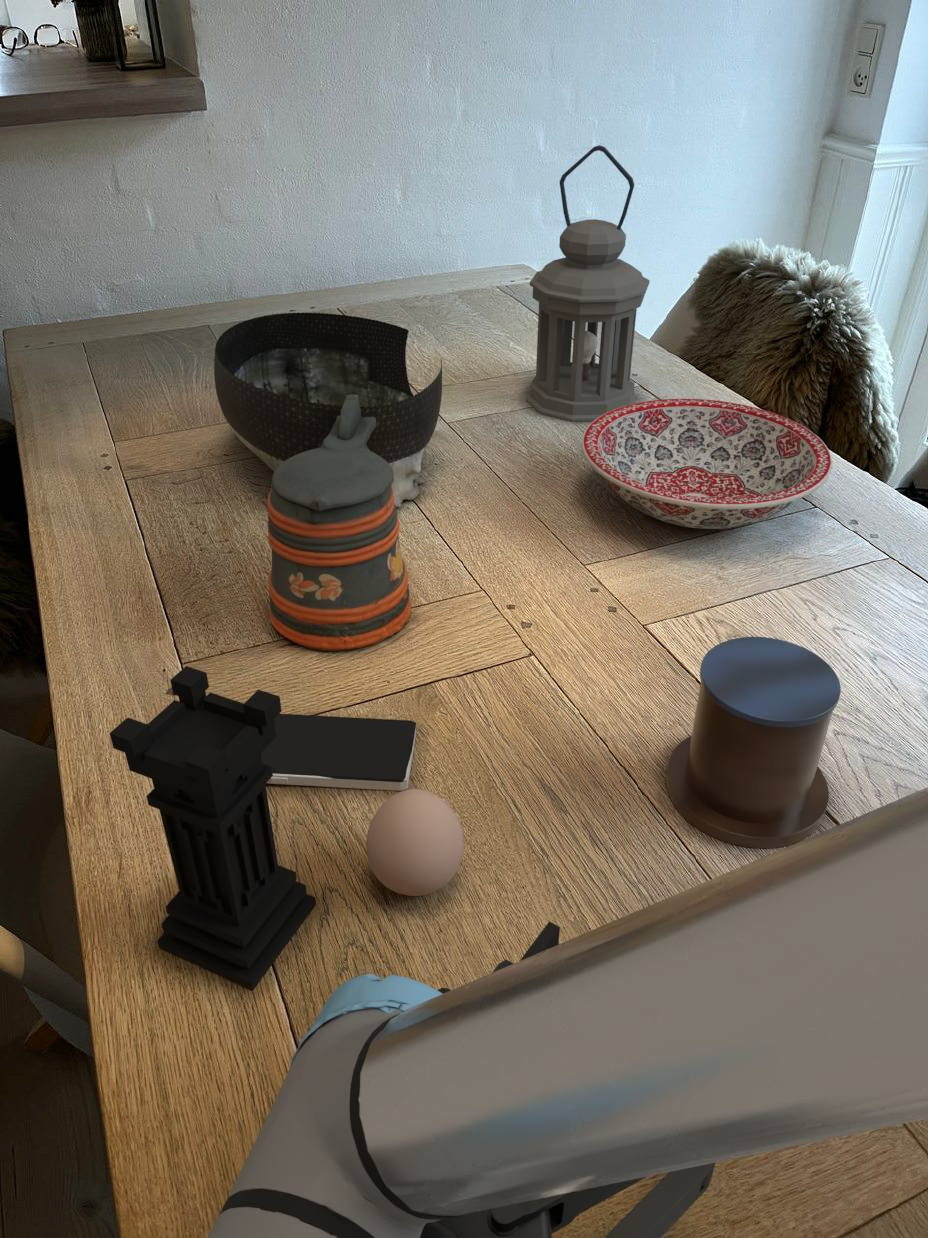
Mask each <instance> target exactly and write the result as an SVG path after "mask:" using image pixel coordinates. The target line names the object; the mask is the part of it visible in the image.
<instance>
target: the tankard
mask: <svg viewBox="0 0 928 1238" xmlns="http://www.w3.org/2000/svg"><path fill="white" fill-rule="evenodd" d="M375 428H376V418H375V417H363V418H362V417H361V412H360V405H359V398H358V396H357V395H354V394H353V395H347V396H346V398H345V401H344V404H343V406H342V410H341V415H340V416H337V419H336V422H335V424H334V426H333V428H332V430H331V432H330V433H329V435H328V436H327V437H326V438H325V439H324V440H323V443H322V446H321V447H320V448H317V449H312V450H309V451H305V452H302V453H300V454H297V455H295V456H293V457H291V458H289V459H287V460H286V461H284V462H283V463H282V464H281V465H279V466H278V467H277V469H276V470H275V472H274V471H273V474H272V479H271V486H270V491H269V492H268V496H267V540H268V541H267V542H268V544H269V546H270V548H271V570H270V572H269V576H268V598H269V619H270V622H271V624H272V626H273V628H274V629H275V630H276V631H277V632H278V633H280V634H281V635H282V636H283V637H285V638H286V639H288V640H290V641H291V642H293V643H295V644H296V645H298V646H301V647H305V648H307V649H311V650H319V651H324V652H338V651H339V652H340V651H346V650H347V651H348V650H355V649H361V648H365V647H369V646H373V645H376V644H378V643H380V642H382V641H383V640H386V638H388V637H392V636H393V635H394V634H395V633H398V632H400V631H401V630H402V628H403V627H404V625H405V624H406V622H407V621H408V620H409V619H410V616H411V612H412V604H411V594H410V590H409V572H408V570H407V566H406V563H405V561H404V559H403V554H402V549H401V543H400V537H399V535H400V530H401V529H400V520H399V515H398V511H397V508H396V506H395V499H394V495H393V488H392V484H393V481H394V478H393V476H394V474H393V470H392V467H391V466H390V464H389V463H388V462H387V461H385V460H384V459H383V458H382V457H380V456H379V455H377V454H375V453H373V452H372V451H370V450H369V449H368V448H367V444H366V443H367V441H368V439H369V437H370V435H371V433H372V431H373V430H374V429H375Z"/></svg>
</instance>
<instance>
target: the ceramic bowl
mask: <svg viewBox="0 0 928 1238" xmlns="http://www.w3.org/2000/svg"><path fill="white" fill-rule="evenodd" d="M581 451H582V454H583V456H584V458H585V460H586V462H587V463H588V465H589V466H590V467H591V468H592V469H593V470H594V471H595V472H596V473H597V474H599V475H600V476H601V477H603V478H604V479H605V480H606V482H607V483H608V485H609V486H610V487H611V488H612V489H613V491H614V492H615V493H616V494H617V495H619V497H621V499H623V500H624V501H625V502H626V503H628V504H629V505H630V506H632V507H633V508H635V509H636V510H638V511H640V512H641V513H643V514H645V515H646V516H649V517H651V518H654V519H656V520H658V521H661V522H664V523H668V524H671V525H675V526H679V527H685V528H693V529H700V530H701V529H704V530H723V529H733V528H739V527H744V526H748V525H752V524H755V523H758V522H761V521H764V520H766V519H768V518H770V517H772V516H775V515H776V514H778V513H780V512H781V511H783V510H784V509H786V508H787V507H789V506H790V505H792V504H793V503H794V502H795V501H797V500H799V499H802V498H804V497H807V496H808V495H811V494H812V493H814V492H816V491H817V490H818V489H819V488H821V487H822V486H823V485H824V484H825V483H826V482H827V480H828V478H830V475H831V473H832V470H833V457H832V454H831V452H830V449H829V448H828V445H826V444H825V442H824V441H823V440H822V439H821V438H820V437H819V436H818V435H817V434H815V433H813V431H811V430H810V429H808V428H807V427H805V426H804V425H802V424H800V423H798V422H796V421H794V420H792V419H790V418H787V417H785V416H782V415H780V414H778V413H774V412H772V411H769V410H765V409H762V408H759V407H755V406H754V407H753V406H750V405H745V404H741V403H736V402H730V401H724V400H715V399H703V398H665V399H663V398H662V399H654V400H646V401H639V402H635V404H630V405H627V406H623V407H620V408H617V409H614V410H612V411H609V412H607V413H605V414H603V415H602V416H600V417H598V418H597V419H595V420H594V421H591V422H590V423H589V425H588V426H587V427H586V429H585V431H583V434H582V438H581Z"/></svg>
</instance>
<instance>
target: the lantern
mask: <svg viewBox="0 0 928 1238" xmlns="http://www.w3.org/2000/svg"><path fill="white" fill-rule="evenodd" d="M598 151H600V152H602V153H603V154H604V155H605V156H606V157H607V158H608V160H609V161H610V162H611V163H612V164H613V166H615V168H616V169H617V170H618V172H620V173H621V175H622V176H623V177H624V178H625V180H627V182H628V187H629V189H628V191H627V192H628V193H627V195H626V199H625V203H624V205H623V206H624V207H623V209H622V213H621V216H620V219H619V222H618V224H615V223H613V222H610V221H607V220H602V219H596V218H595V219H592V218H591V219H590V218H589V219H583V220H579V221H575V222H572V223H571V220H570V219H571V218H570V215H569V214H570V213H569V209H568V202H567V194H566V187H565V181H566V179H567V177H568V176H569V175H570V174H571V173H572V172H574V171H575V170H576V169H577V168H578V167H579V166H580V165H581V164H582V163H583V162H584V161H586V160H587V158H589V157H590V156H591V155H592V154H593V153H594V152H598ZM634 188H635V181H634V179H633V177H632V176H631V175H630V174H629V172H628V171H627V170H626V169H625V167H623V166H622V164H621V163H620V162H619V161H618V160H617V159H616V158H615V156H614V155H613V154H612V153H611V152H610V151H609V150H608V149H607V147H606V146H604V145H601V144H600V145H599V144H598V145H595V146H593V147H592V148H591V149H589V151H588V152H586V154H584V155H583V156H582V157H581V158H579V159H578V160H577V162H575V163H573V165H572V166H570V167H569V168H568V169H567V170H566V171H565V172H564V173H563V174H562V175H561V177H560V179H559V189H560V197H561V203H562V210H563V211H562V212H563V215H564V216H563V217H564V220H565V224H566V228H565V229H564V230H563V231H562V232H561V234H560V235H559V244H558V246H559V249H560V251H561V252H562V255H563V256H564V257H561V258H557V259H553V260H552V261H549V263H547V264H545V265H544V266H543V268H542V269H541V270H538V271H536V273H535V274H534V275H533V277H532V278H531V279H530V281H529V286H530V287H531V288H532V299H533V300H535V301H536V302H538V314H537V315H538V318H537V321H538V322H537V337H536V338H537V339H536V365H535V376H534V378H533V380H531V381H532V382H531V383H530V385H529V392H528V393H527V396H526V397H525V401H526V402H527V404H529V405H530V406H531V407H532V408H534V410H536V411H537V413H539V414H540V415H544V416H548V417H552V418H555V419H560V420H564V421H568V422H574V423H575V422H593V421H594V420H595V419H597V418H598V417H600V416H602V415H603V414H605V413H607V412H609V411H612V410H614V409H617V408H620V407H623V406H627V405H630V404H635V403H637V402H636V401H637V398H638V395H637V394H636V393H634V392H635V382H634V381H632V380H631V372H632V371H631V370H632V362H633V361H632V360H633V352H634V351H633V350H634V341H635V330H636V319H637V310H638V309H639V308H640V307H642V303H643V301H644V298H645V295H646V292H647V290H648V288H649V286H650V279H648V278H646V277H645V276H643V273H642V272H641V271H640V270H638V269H637V268H636V267H635V266H633V265H631V264H630V263H628V262H626V261H624V260H623V259H621V258H619V257H620V256H621V255H622V253H623V251H624V249H625V247H626V240H627V234H626V233H625V232H624V230H623V229H622V226H623V223H624V221H625V219H626V216H627V213H628V209H629V205H630V202H631V199H632V195H633V193H634ZM599 323H601V328H600V329H601V331H600V343H599V341H598V331H599V329H598V328H599ZM573 324H574V325H573ZM586 325H587V327H586ZM598 346H599V355H598V356H599V358H598V362H596V357H597V348H598Z"/></svg>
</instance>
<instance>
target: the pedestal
mask: <svg viewBox="0 0 928 1238" xmlns="http://www.w3.org/2000/svg"><path fill="white" fill-rule="evenodd" d="M699 680H700V685H699V690H698V696H697V702H696V708H695V712H694V713H695V714H694V720H693V725H692V730H691V735H689V736H688V737H686V738H684V739H683V740H682V741H681V742H680V743H679V744H678V745H677V746H676V747H675V748H674V750H673V751H672V753H671V754H670V756H669V759H668V763H667V767H666V774H665V786H666V792H667V794H668V797H669V799H670V800H671V803H672V804H673V806H674V807H675V809H676V810H677V812H678V813H679V814H680V815H681V816H682V817H683V818H684V819H685V820H686V821H687V822H688V823H689V824H691V825H692V826H693V827H695V828H697V829H698V830H699V831H701V832H702V833H704V834H706V835H708V836H710V837H711V838H714V839H715V840H716V839H717V840H719V841H721V842H724V843H727V844H731V845H734V846H739V847H744V848H749V849H774V848H775V849H776V848H783V847H788V846H791V845H793V844H795V843H798V842H800V841H802V840H805V839H807V838H809V837H810V836H812V834H813V833H815V831H816V830H818V828H819V827H820V825H821V824H822V823H823V820H824V818H825V815H826V811H827V809H828V804H829V800H830V791H829V785H828V783H827V780H826V776H825V775H824V773H823V772H822V769H821V768H820V767H819V762H820V759H821V755H822V752H823V747H824V744H825V741H826V737H827V733H828V730H829V725H830V723H831V720H832V715H833V712H834V710H835V709H836V707H837V706H838V704H839V701H840V698H841V693H842V691H841V690H842V686H841V683H840V679H839V677H838V675H837V673H836V672H835V670H834V668H832V667H831V665H830V664H829V663H828V662H826V661H825V659H823V658H822V657H820V656H819V655H818V654H817V653H814V652H813V651H811V650H809V649H807V648H806V647H803V646H801V645H798V644H796V643H793V642H790V641H787V640H783V639H778V638H773V637H766V636H743V637H736V638H732V639H728V640H725V641H722V642H720V643H718V644H716V645H715V646H713V647H711V649H709V651H707V653H706V654H705V655H704V656H703V658H702V660H701V664H700V668H699Z"/></svg>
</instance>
